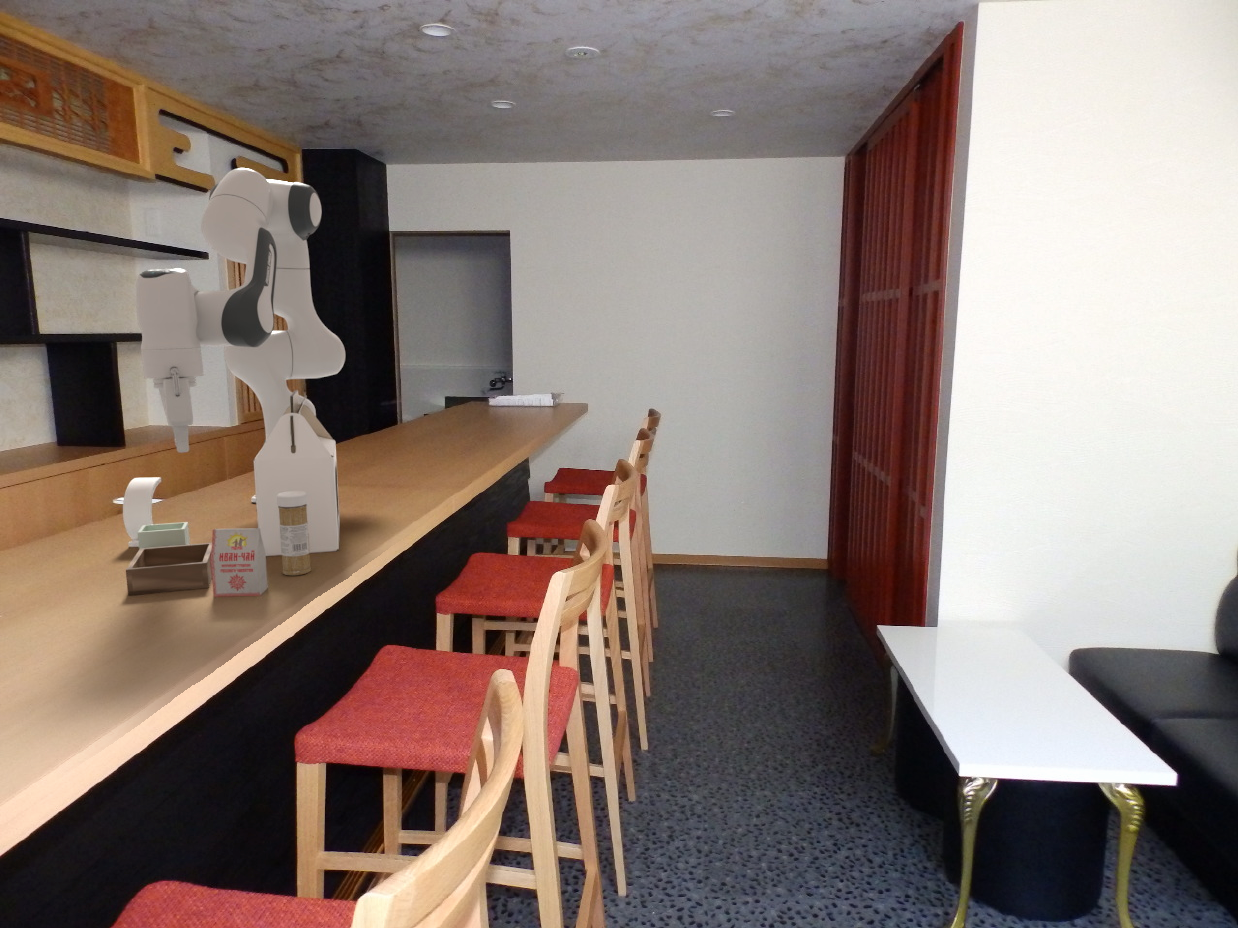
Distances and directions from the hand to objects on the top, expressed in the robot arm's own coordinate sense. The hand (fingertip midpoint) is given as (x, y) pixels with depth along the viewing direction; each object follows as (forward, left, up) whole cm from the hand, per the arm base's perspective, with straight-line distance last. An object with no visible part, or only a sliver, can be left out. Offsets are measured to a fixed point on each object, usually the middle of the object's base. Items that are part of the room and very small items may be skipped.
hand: (182, 449), depth 142 cm
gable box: (-9, +18, -20) cm, 29 cm away
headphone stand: (-16, -9, -20) cm, 27 cm away
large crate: (+11, -1, -20) cm, 22 cm away
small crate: (-2, -4, -20) cm, 20 cm away
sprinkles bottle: (+13, +17, -20) cm, 29 cm away
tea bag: (+21, +9, -20) cm, 30 cm away
